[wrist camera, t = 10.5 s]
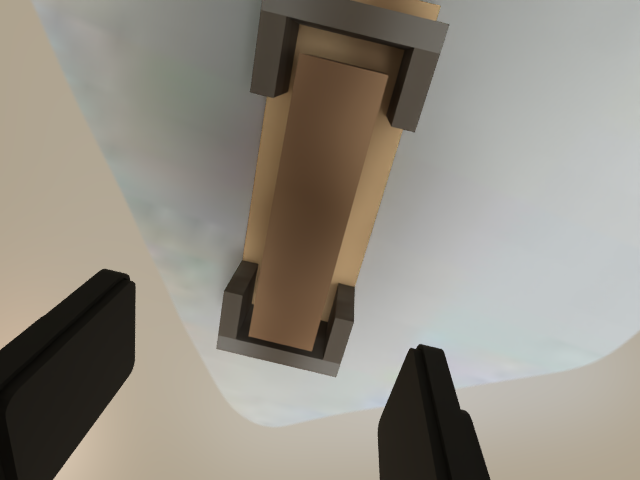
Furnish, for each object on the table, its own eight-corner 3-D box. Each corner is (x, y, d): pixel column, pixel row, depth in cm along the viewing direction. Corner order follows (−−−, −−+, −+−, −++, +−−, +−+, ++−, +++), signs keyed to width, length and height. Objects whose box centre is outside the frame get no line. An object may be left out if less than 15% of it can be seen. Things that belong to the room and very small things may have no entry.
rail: (436, 8, 18) (459, -8, 14) (336, 339, 26) (332, 389, 22) (289, -28, 18) (269, -54, 14) (237, 315, 26) (214, 361, 22)
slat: (382, 72, 18) (388, 75, 15) (319, 308, 24) (311, 351, 21) (311, 54, 18) (299, 52, 15) (264, 295, 24) (248, 336, 21)
